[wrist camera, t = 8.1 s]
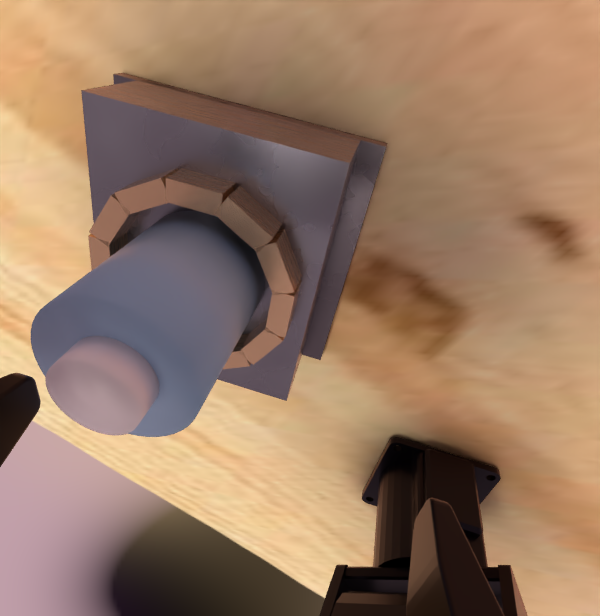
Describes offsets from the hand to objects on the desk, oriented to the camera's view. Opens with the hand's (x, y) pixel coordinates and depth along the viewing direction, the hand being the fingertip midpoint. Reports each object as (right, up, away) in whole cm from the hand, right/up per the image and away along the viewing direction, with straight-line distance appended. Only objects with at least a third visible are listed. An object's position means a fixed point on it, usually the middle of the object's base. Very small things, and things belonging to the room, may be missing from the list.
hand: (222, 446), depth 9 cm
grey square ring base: (-1, +7, +11) cm, 13 cm away
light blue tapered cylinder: (-2, +4, +7) cm, 9 cm away
